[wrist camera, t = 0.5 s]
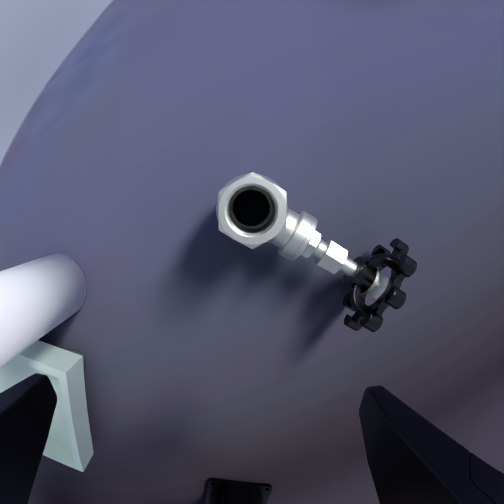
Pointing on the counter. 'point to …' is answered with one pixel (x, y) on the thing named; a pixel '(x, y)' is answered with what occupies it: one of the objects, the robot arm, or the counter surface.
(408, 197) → the counter surface
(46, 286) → the bottle
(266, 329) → the counter surface
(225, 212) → the valve
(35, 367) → the shallow mint tray
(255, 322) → the counter surface
